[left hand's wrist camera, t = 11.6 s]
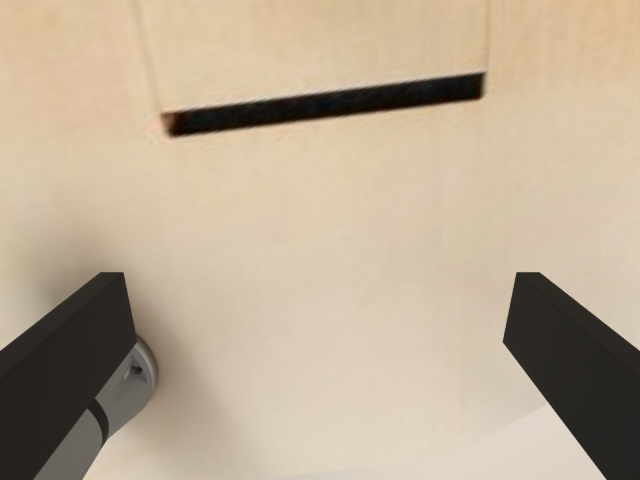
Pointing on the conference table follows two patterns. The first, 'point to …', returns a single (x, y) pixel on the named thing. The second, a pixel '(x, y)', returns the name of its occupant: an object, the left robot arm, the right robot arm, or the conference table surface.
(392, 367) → the conference table surface
